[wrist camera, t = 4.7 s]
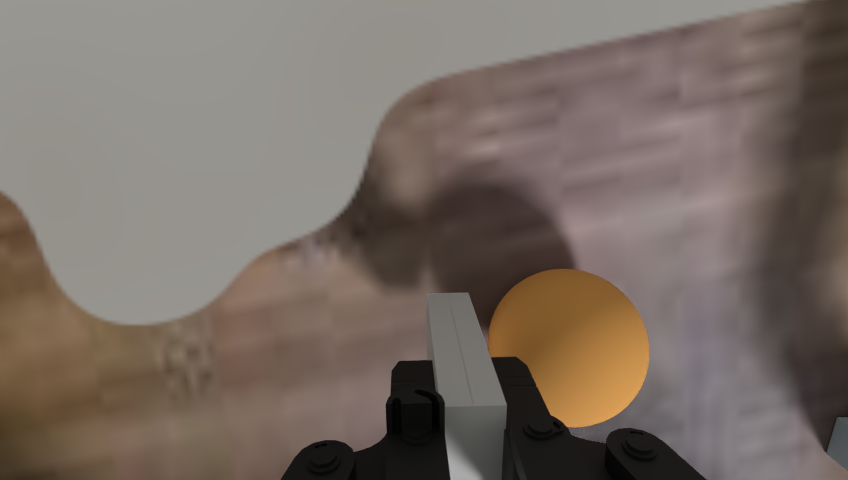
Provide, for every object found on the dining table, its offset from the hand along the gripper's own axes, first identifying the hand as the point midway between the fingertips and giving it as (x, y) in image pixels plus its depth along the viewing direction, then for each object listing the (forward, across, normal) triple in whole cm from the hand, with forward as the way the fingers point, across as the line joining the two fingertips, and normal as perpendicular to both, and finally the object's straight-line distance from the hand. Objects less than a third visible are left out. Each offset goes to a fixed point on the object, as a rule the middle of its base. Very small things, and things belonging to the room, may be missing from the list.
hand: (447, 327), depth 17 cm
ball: (0, +4, -1) cm, 4 cm away
